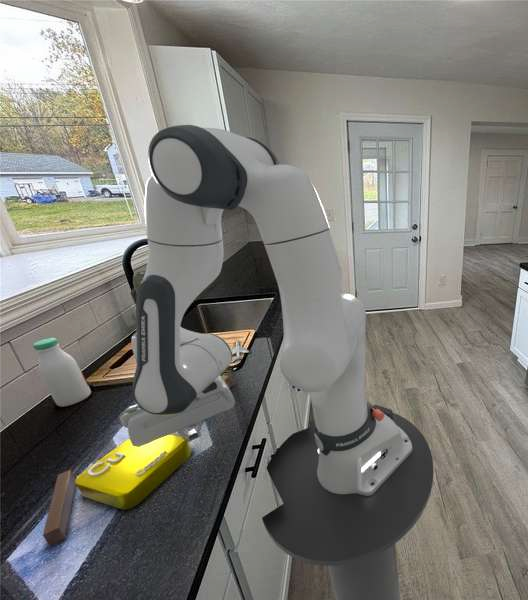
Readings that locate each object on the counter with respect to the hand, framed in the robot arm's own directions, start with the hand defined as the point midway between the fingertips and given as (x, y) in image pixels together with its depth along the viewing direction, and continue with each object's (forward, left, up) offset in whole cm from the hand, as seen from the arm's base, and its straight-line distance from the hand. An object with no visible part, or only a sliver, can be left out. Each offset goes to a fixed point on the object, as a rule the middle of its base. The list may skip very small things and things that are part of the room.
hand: (194, 437), depth 75 cm
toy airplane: (-19, -41, -3) cm, 45 cm away
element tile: (+11, 0, -3) cm, 11 cm away
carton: (-4, -17, -3) cm, 18 cm away
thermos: (-1, -44, -3) cm, 44 cm away
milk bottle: (+26, -48, -3) cm, 55 cm away
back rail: (+23, 0, -3) cm, 23 cm away
